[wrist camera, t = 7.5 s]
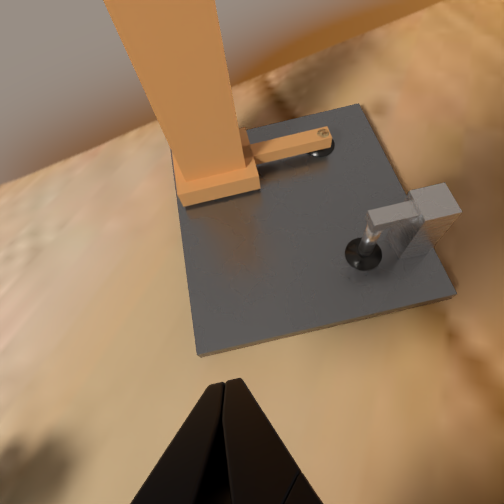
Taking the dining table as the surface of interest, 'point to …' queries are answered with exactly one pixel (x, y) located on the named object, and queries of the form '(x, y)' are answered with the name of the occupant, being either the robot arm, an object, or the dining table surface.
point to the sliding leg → (197, 98)
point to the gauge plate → (313, 241)
